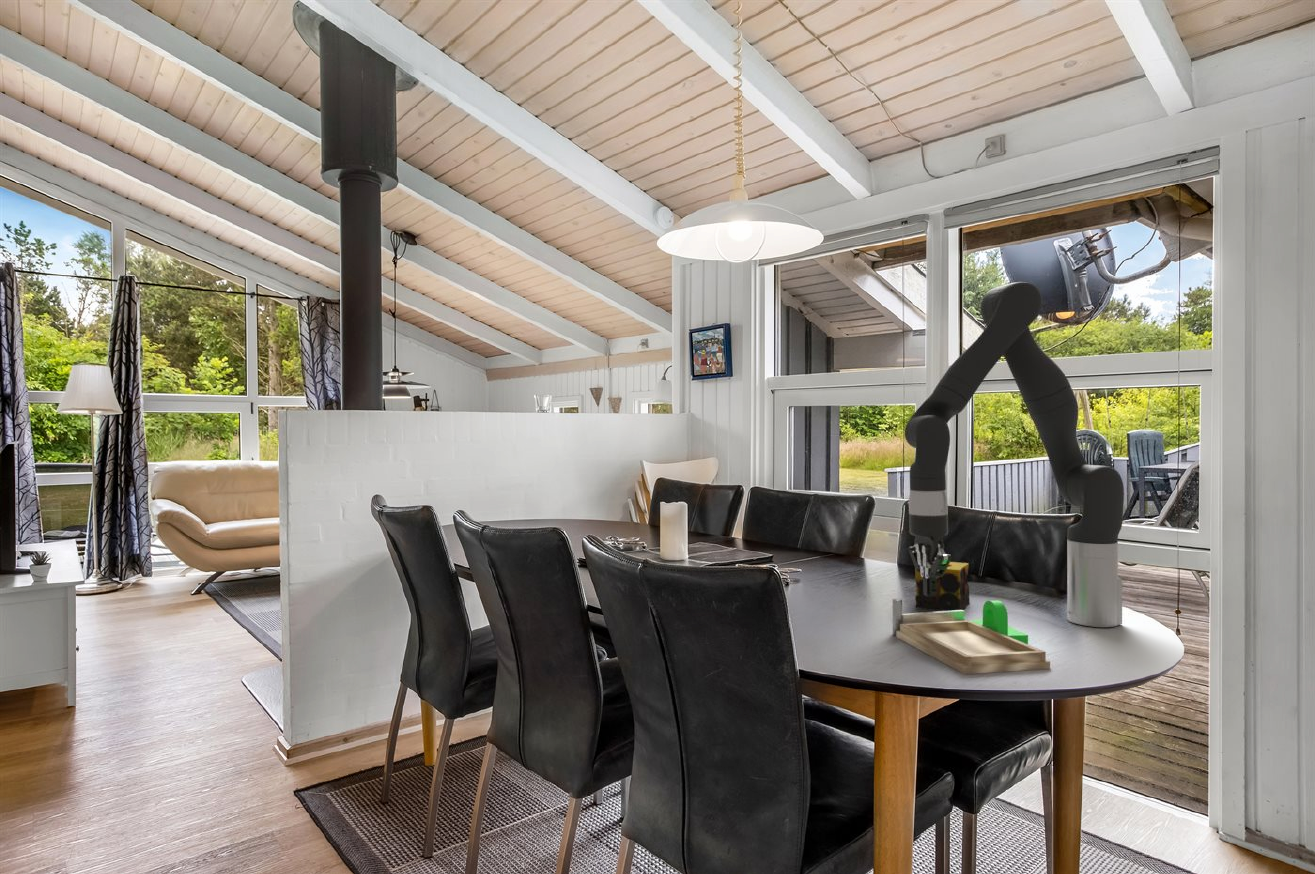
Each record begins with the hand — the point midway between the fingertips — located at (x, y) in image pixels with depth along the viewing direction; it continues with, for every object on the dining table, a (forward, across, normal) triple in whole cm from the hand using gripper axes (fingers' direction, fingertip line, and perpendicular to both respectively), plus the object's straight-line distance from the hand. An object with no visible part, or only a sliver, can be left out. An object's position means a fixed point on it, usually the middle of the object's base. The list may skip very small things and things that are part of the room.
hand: (930, 595), depth 153 cm
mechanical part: (+7, -8, -9) cm, 14 cm away
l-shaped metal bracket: (+6, -4, +10) cm, 12 cm away
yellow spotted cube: (+7, +16, -13) cm, 22 cm away
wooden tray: (+6, -17, +3) cm, 18 cm away
